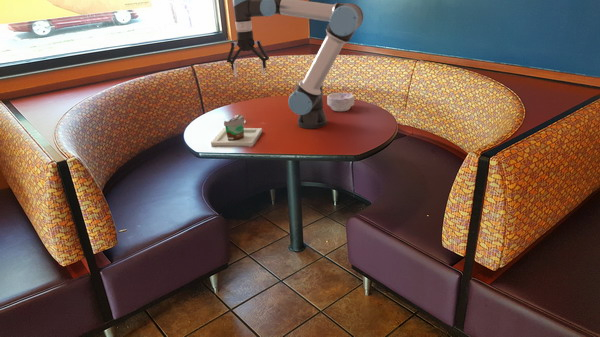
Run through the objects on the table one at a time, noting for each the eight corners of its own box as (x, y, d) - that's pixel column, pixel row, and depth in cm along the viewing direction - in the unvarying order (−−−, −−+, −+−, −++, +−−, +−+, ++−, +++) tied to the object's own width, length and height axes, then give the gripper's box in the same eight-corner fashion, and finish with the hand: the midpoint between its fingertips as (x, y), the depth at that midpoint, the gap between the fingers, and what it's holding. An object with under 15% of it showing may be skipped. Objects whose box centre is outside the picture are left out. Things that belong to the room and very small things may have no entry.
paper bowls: (354, 105, 261) (354, 91, 258) (353, 113, 248) (353, 99, 244) (328, 105, 264) (328, 92, 260) (326, 113, 250) (325, 99, 247)
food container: (236, 143, 213) (234, 123, 209) (226, 141, 216) (223, 121, 212) (251, 134, 223) (249, 115, 218) (241, 133, 225) (239, 114, 221)
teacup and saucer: (241, 126, 239) (240, 118, 237) (227, 125, 241) (226, 118, 240) (248, 121, 246) (247, 113, 244) (235, 120, 249) (234, 113, 247)
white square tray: (262, 131, 227) (261, 128, 226) (252, 146, 209) (252, 142, 208) (224, 131, 230) (223, 128, 230) (211, 146, 212) (210, 142, 212)
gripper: (216, 33, 209) (223, 78, 217) (269, 29, 206) (274, 76, 215) (220, 31, 216) (226, 75, 224) (271, 27, 213) (276, 72, 221)
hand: (249, 75), depth 219 cm, fingers open, 13 cm apart
